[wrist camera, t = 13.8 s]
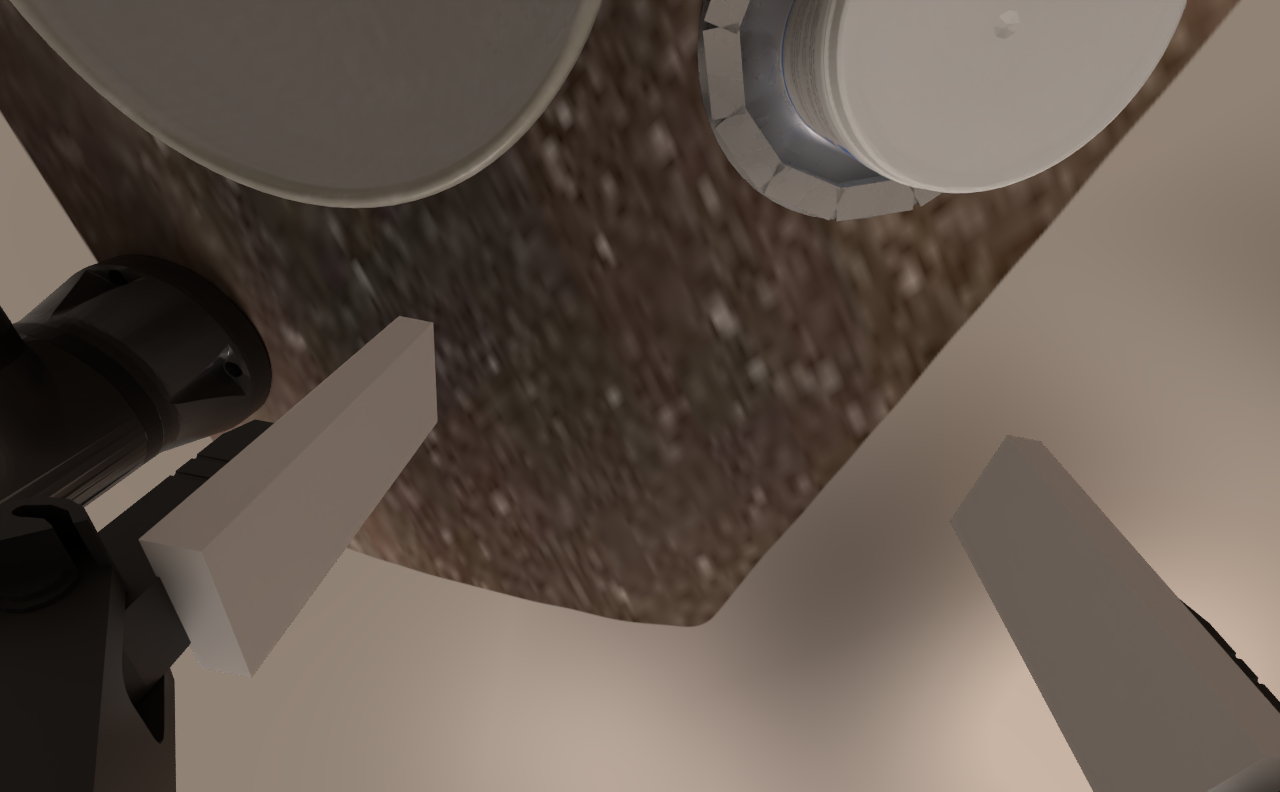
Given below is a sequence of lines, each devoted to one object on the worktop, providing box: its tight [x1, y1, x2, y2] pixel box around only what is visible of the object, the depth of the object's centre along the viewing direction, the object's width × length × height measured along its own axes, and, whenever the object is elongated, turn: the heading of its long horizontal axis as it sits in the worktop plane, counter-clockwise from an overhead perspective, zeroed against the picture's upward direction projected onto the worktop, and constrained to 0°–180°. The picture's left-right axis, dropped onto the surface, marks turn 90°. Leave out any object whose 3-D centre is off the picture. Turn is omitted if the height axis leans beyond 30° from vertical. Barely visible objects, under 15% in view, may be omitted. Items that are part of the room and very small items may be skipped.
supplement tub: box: [780, 0, 1187, 193], centre depth 22 cm, size 10×10×15 cm
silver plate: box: [698, 0, 942, 221], centre depth 28 cm, size 18×18×2 cm
